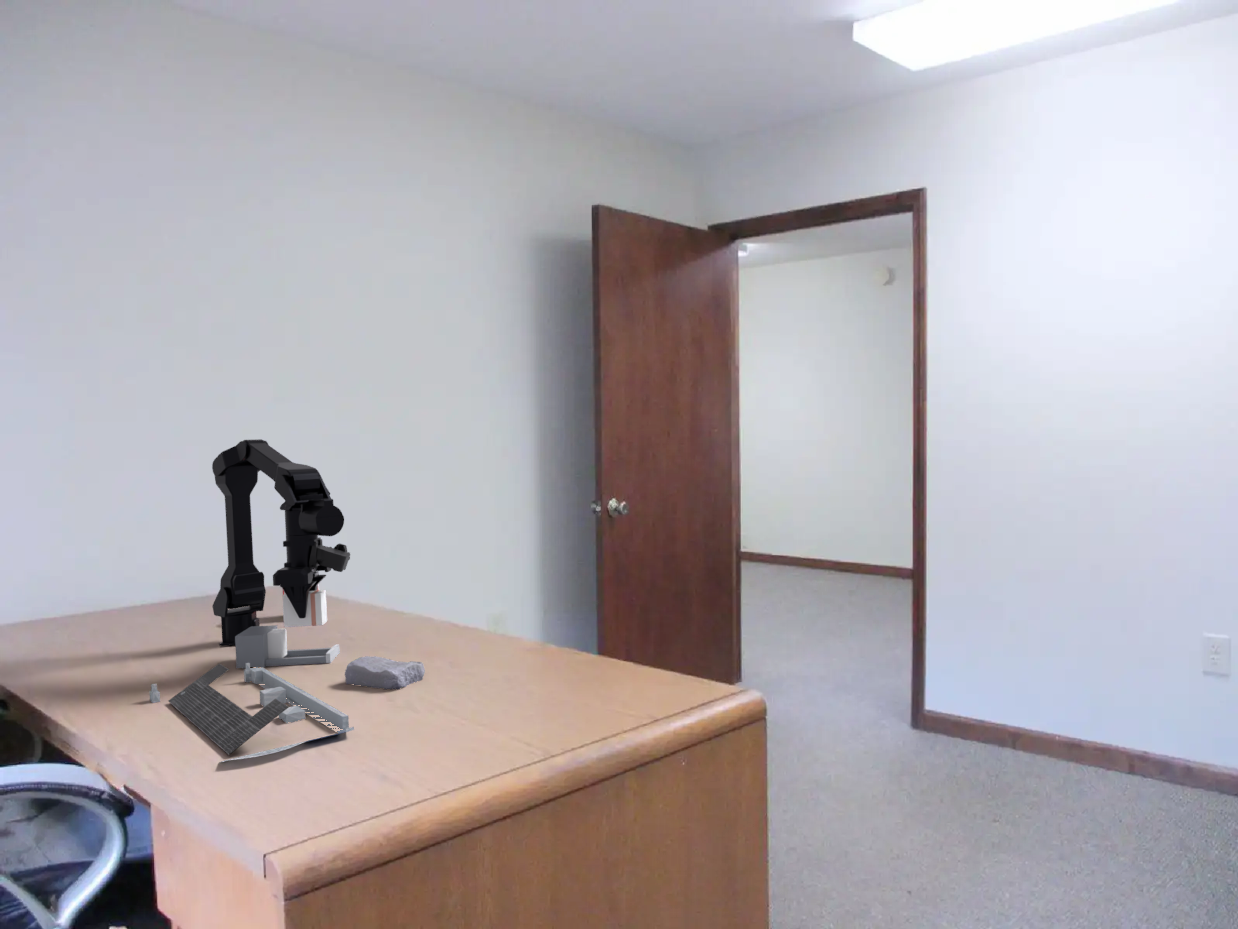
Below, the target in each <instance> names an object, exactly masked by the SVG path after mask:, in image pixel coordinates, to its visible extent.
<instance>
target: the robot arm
mask: <svg viewBox="0 0 1238 929" xmlns="http://www.w3.org/2000/svg"><path fill="white" fill-rule="evenodd" d="M211 465H212V466H211V468H212V473H213V474H214V481H215V485H216V486H217V488H219V490H220V492H221V493H222V495H223V496H224V506H225V508H224V509H225V524H226V525H225V526H226V545H227V563H228V564H227V567H226V569H225V571H224V572H223V574H222V576H221V578H220V583H219V584H220V586H219V588H220V589H219V591H218V593H217V595H216V597H215V599H214V601H213V603H212V611H213V615H214V616H215V617H220V621H221V623H220V624H221V642H220V643H218V645H219V647H222V646H223V647H224V646H235V636H237V635H238V634H240V633H241V632H243V631H245V630H246V629H248V628H249V627H251V626H261V625H260V618H259V617H257V612H263V611H264V607H265V606H264V605H265V599H266V593H267V589H266V587H265V586H266V585H265V574H264V572H263V571H260V570H259V569H258V568H257V566H256V565H255V563H254V549H253V547H254V546H253V544H254V542H253V529H252V528H253V527H252V526H253V524H252V506H251V495H252V492H253V490H254V488H255V487H256V485H257V483H258V481H259V480H258V479H259V476H258V475H259V472H262V473H263V474H265V475H266V476H267V477H268V478H270V479H271V480H272V481H273V482H274V490H275V491H276V492H277V493H278V494H279V495H280V497H281V498H282V499H283V500H284V502H283V503H282V504H281V505H280V506H279V510H280V511H284V519H285V520H284V521H285V524H284V525H285V526H284V527H285V540H283V541H282V547H283V548H284V547H285V548H286V562H284V563H283V567H281V568H279V569H277V571H275V572H274V574H273V575H272V585H273V586H274V587H278V586H279V588H281V589H282V591H283V590H284V592H285V593H286V595H287V597H288V598H289V600H290V602H291V604H292V606H293V608H294V609H295V611H296V613H297V615H298V617H299V618H305V617H306V611H307V602H308V593H309V591H316V589H317V585H318V584H319V585H320V583H321V582H322V581H323V580H324V579H325V578H326V577H327V574H320V571H324V573H328V572H330V571H332V570H333V571H335V572H339V573H342V572H343V571H345V570H346V568H347V567H348V563H349V561H350V560H351V552H348V548H347V547H348V546H347V545H346V544H343V543H337V544H336V545H335V546H334V547H332V546H326V545H323V539H322V538H321V537H322V536H323V537H333V536H335V535H337V534H339V533H340V532H341V531H342V529H343V527H344V525H345V516H344V514H343V512H342V510H341V509H340V508H339V507H338V506H335V505H334V499H333V498H331V496H330V495H331V492H330V491H329V489H328V488H327V486H326V483H325V482H324V480H323V478H322V476H321V474H320V472H319V470H317V468H315V467H313V466H311V465H308V464H302V463H296V462H293V461H291V460H290V459H289V458H288V457H286V456H285V455H283V454H282V453H280V452H279V451H277V450H276V449H274V448H273V447H271V446H270V445H269V442H268V441H267V440H263V439H244V440H240V441H239V442H238V443H237V444H236V445H234V446H232V447H230V448H228V449H226V450H223V451H221V452H220V453H219V454H218V455H217V456H216V457H215V458H214V459H213V461H212V464H211ZM319 536H321V537H319Z"/></svg>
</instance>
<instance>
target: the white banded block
mask: <svg viewBox="0 0 1238 929" xmlns="http://www.w3.org/2000/svg"><path fill="white" fill-rule="evenodd" d="M327 609H328V608H327V590H326V589H323V590H322V589H319V590H316V591H309V593H308V602H307V611H306V617H305V618H299V617H298V615H297V613H296V611H295V609H294V608H293V606H292V604H291V602H290V600H289V598H288V597H287V595H286V594H284V595H283V594H282V610H283V611H282V612H283V628H291V627H292V628H295V627H311V626H312V627H316V626H323V625H324V624H326V623H327V622H328V610H327Z"/></svg>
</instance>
